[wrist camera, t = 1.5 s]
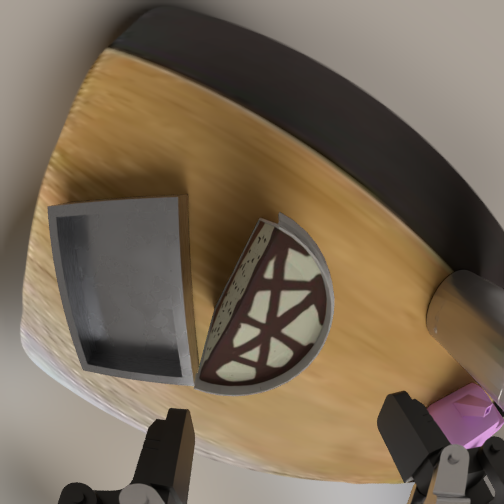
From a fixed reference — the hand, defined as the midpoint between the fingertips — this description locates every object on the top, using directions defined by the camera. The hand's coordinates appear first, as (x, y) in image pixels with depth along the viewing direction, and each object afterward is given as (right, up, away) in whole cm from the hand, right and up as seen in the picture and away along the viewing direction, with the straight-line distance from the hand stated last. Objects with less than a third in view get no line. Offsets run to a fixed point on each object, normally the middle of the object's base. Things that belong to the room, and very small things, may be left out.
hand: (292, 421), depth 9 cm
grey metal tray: (-13, +3, +15) cm, 20 cm away
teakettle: (+32, -22, +23) cm, 45 cm away
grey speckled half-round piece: (0, +4, +15) cm, 16 cm away
